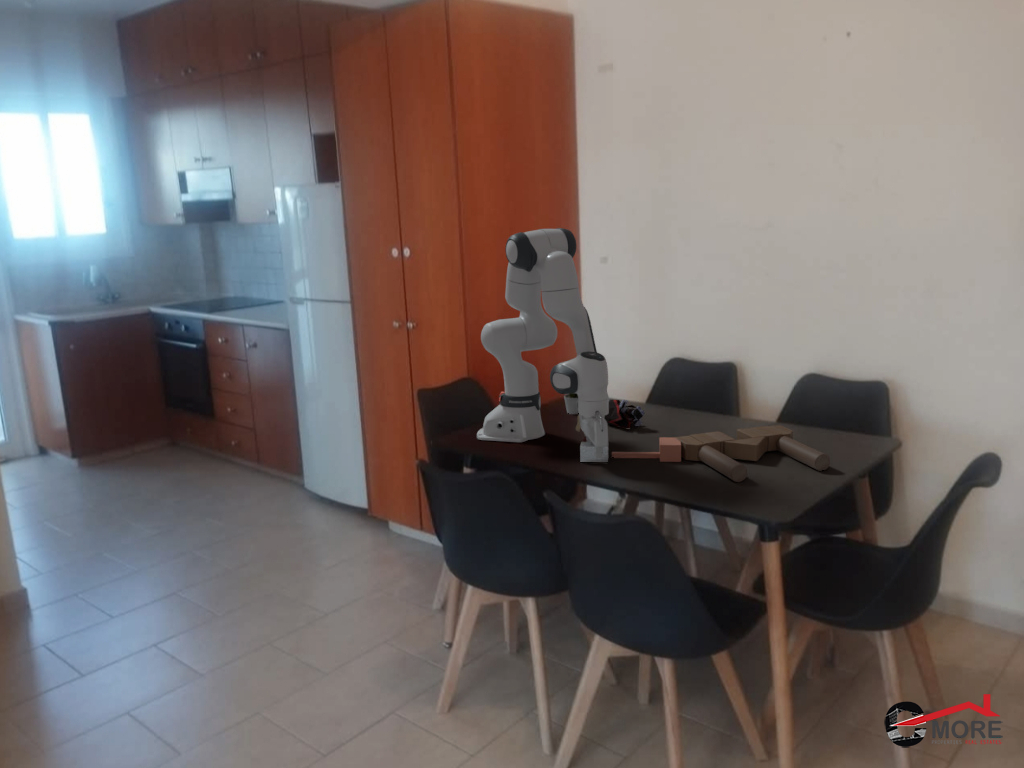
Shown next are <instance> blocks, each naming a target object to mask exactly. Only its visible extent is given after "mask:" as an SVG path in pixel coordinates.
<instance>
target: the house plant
mask: <svg viewBox="0 0 1024 768" xmlns="http://www.w3.org/2000/svg"><path fill="white" fill-rule="evenodd" d="M563 398H564V403H565V408H566V413H567V414H568V413H569V414H568V415H579V414H578V408H577V401H578V395H577V394H576V393H572V394H564V396H563Z"/></svg>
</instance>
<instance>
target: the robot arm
mask: <svg viewBox="0 0 1024 768" xmlns="http://www.w3.org/2000/svg"><path fill="white" fill-rule="evenodd" d="M576 252H577V241H576V237H575V235H574V233H573V232H572V231H571V230H570V229H567V228H562V227H561V228H560V227H556V228H538V229H535V230H529V231H525V232H521V231H520V232H515V233H514V234H511V235H510V236H509V237H508V239H507V240H506V243H505V255H506V256H505V257H506V259H507V261H508V263H507V264H508V265H507V268H506V269H507V270H506V279H505V294H504V298H505V301H506V304H508V305H509V306H510V307H511V308H513V309H514V310H517V311H519V316H518V317H513V318H503V319H502V318H500V319H497V320H493V321H490V322H487V323H486V324H484V325H483V328H482V330H481V333H480V341H481V342H480V343H481V345H482V346H483V349H485V351H487V353H490V354H491V355H492V356H494V358H495V359H496V360H497V361H498V363H499V364H500V367H501V370H502V374H503V375H502V376H503V382H504V391H500V393H499V396H498V403H499V404H498V405H497V406H496V407H495V408H494V409H493V410H491V411H490V412H489V413H488V414H487V415H486V416H485V417H484V419H483V420H484V421H483V424H482V425H483V426H482V428H480V429H479V430H478V431H477V433H476V439H477V440H481V441H496V442H507V443H509V442H510V443H523V442H526V441H528V440H534V439H540V438H541V437H543V436H545V435H546V432H545V429H544V426H543V421H542V416H541V407H542V404H541V394H540V393H541V392H540V391H539V372H538V370H537V367H536V366H535V365H534V364H532V363H530V362H528V361H526V360H523V357H522V352H529V351H536V350H541V349H545V348H547V347H548V348H549V347H551V346H553V345H554V344H555V342H556V340H557V338H558V327H557V325H556V322H555V321H554V320H556V321H559V322H562V323H564V324H565V325H566V326H568V327H569V329H570V331H571V333H572V337H573V342H574V346H575V347H574V348H575V352H576V357H574V358H571V359H569V360H566V361H561V362H559V363H558V364H554V366H553V367H552V368H551V370H550V373H549V380H550V384H551V387H552V388H553V390H554V391H555V392H556V393H558V394H559V395H567V394H572V393H576V394H577V395H578V401H577V408H578V413H579V414H578V415H579V419H580V426H581V429H580V431H582V432H583V434H584V433H585V434H586V440H587V442H592V443H593V444H594V445H595V457H596V458H597V459H600V458H602V450H603V447H606V446H608V447H609V429H608V423H607V422H606V420H605V415H607V414H608V413H609V401H610V400H609V393H608V385H609V369H608V367H609V366H608V364H607V363H608V362H607V359H606V357H605V356H604V355H603V354H602V353H599V352H598V350H597V346H596V342H595V336H594V332H593V327H592V323H591V320H590V316H589V313H588V310H587V309H586V307H585V305H584V304H583V301H582V297H581V293H580V286H579V278H578V272H577V269H576V265H575V262H574V261H575V260H574V259H573V258H574V256H575V255H576ZM542 305H543V306H542ZM543 308H544V309H543ZM553 319H554V320H553Z"/></svg>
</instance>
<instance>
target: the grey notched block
mask: <svg viewBox="0 0 1024 768" xmlns="http://www.w3.org/2000/svg"><path fill="white" fill-rule="evenodd" d="M579 452H580V453H579V454H580V455H579V456H580V457H579V459H580V462H608V463H609V454H610V453H609V445H608V446H606V447H603V450H602V458H600V459H597V458H596V457H595V445H594V444H593V443H592V442H583V441H581V442H580V445H579ZM580 462H579V463H580Z"/></svg>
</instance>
